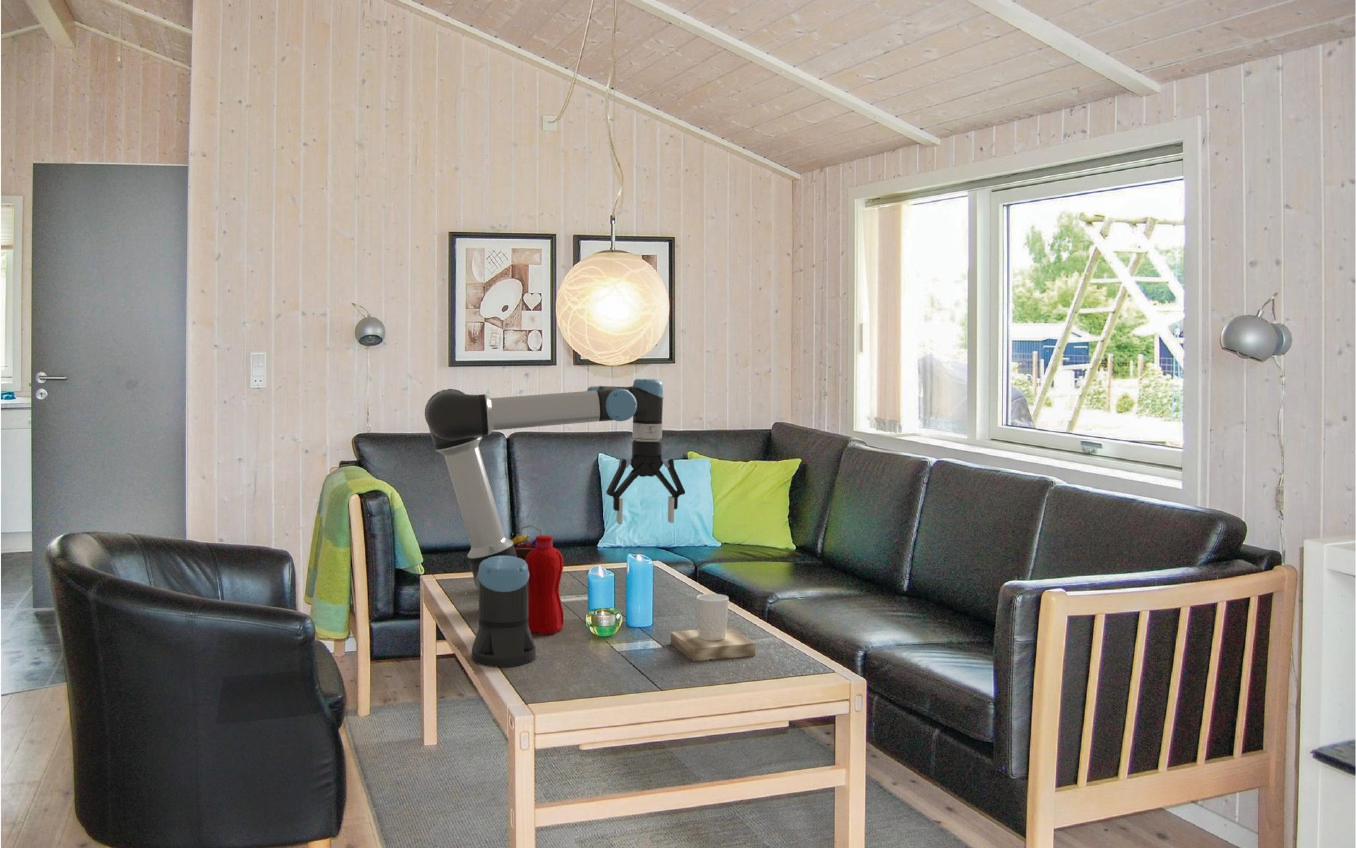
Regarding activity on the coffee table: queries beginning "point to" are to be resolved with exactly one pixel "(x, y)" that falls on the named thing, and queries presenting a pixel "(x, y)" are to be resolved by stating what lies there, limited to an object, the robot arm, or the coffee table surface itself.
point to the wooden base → (712, 645)
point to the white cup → (712, 616)
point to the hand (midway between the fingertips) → (645, 523)
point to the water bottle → (544, 587)
